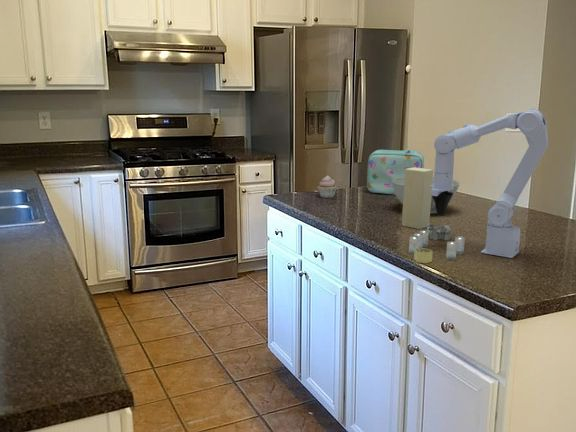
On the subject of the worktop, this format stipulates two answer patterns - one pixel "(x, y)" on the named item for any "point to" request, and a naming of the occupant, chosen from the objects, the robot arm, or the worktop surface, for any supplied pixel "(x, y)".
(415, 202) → the beige rectangular block
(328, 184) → the cupcake
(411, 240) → the cylinder
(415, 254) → the nut
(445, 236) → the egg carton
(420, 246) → the cylinder
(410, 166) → the lunch box
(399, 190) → the decorative bowl
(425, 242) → the cylinder
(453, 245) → the cylinder
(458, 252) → the cylinder
